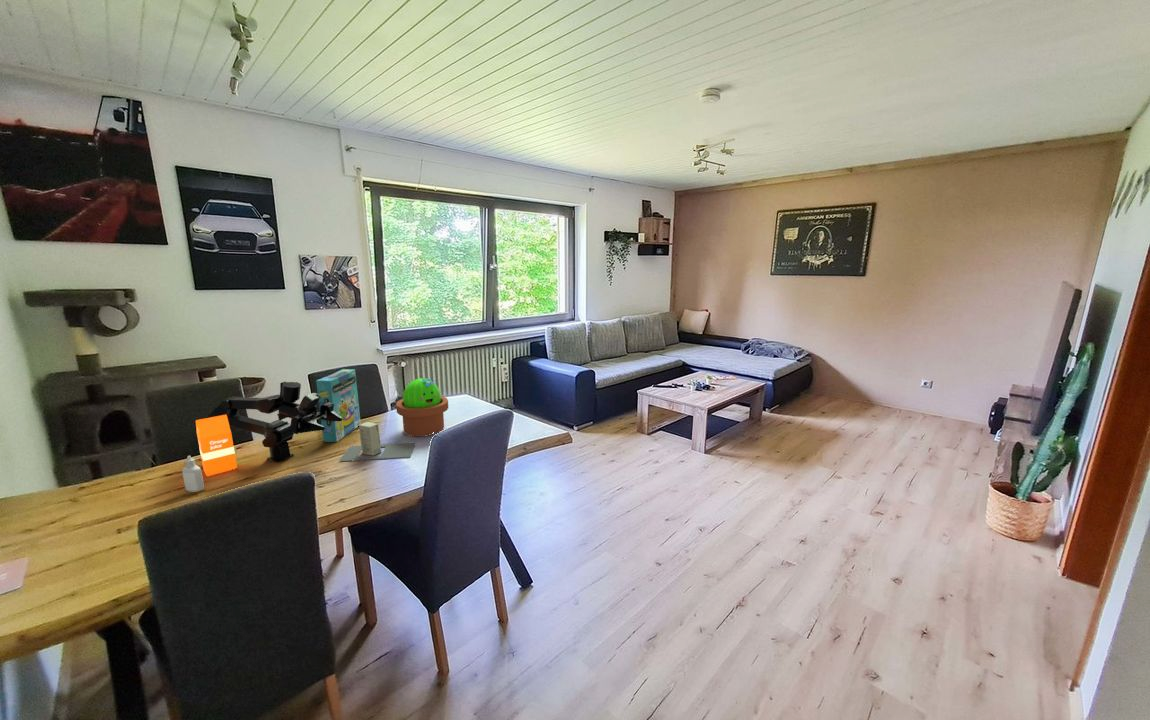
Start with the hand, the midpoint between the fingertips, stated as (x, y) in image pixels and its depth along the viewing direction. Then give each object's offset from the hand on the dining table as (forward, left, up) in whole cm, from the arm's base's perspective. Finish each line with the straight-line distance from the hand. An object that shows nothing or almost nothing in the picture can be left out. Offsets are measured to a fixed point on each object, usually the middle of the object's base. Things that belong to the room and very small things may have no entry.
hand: (333, 424), depth 161 cm
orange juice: (-36, -18, -16) cm, 44 cm away
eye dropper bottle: (-28, -31, -16) cm, 45 cm away
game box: (-22, +24, -16) cm, 37 cm away
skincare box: (+5, +12, -16) cm, 21 cm away
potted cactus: (+9, +40, -16) cm, 44 cm away
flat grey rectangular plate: (+7, +14, -16) cm, 22 cm away
